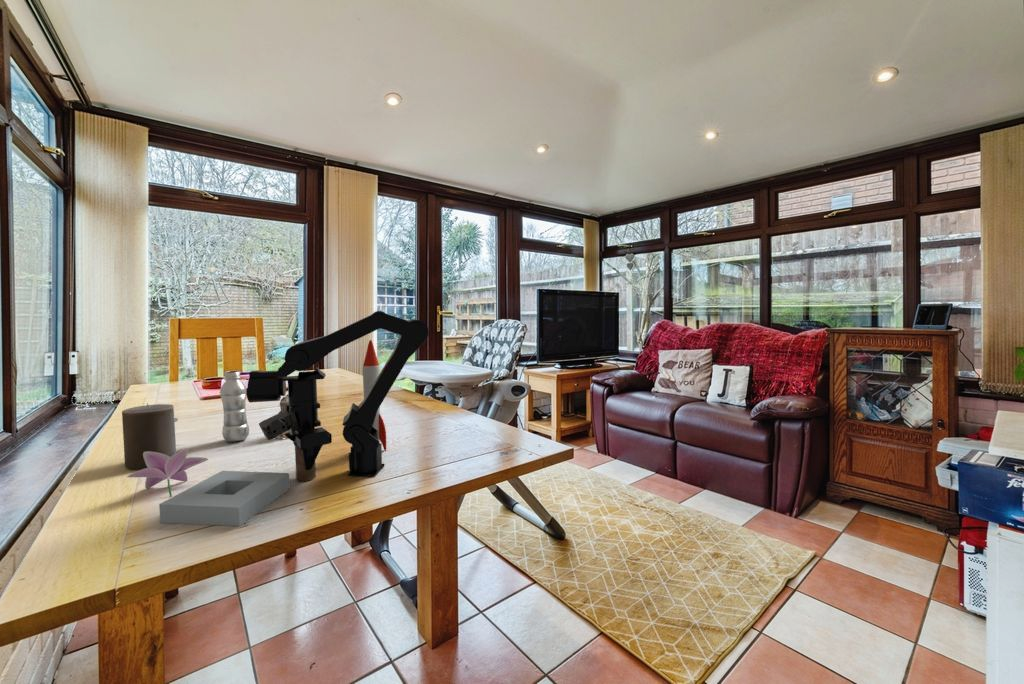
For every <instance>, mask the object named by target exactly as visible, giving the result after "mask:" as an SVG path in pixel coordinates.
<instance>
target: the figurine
mask: <svg viewBox="0 0 1024 684" xmlns="http://www.w3.org/2000/svg"><path fill="white" fill-rule="evenodd" d="M287 403H289V399H288V394H286V395H285V396H282V397H281V399H280V401H279V408H280V410H279V412H278V413H277V414H279V413H282V412H284V411H285V405H286V404H287ZM285 433H288V431H286V432H284V433H282V434H280V435H278V436H276V438H277V437H278V438H277V439H280V438H287V437H286V436H285V435H284V434H285Z"/></svg>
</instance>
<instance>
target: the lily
mask: <svg viewBox="0 0 1024 684" xmlns="http://www.w3.org/2000/svg"><path fill="white" fill-rule="evenodd" d="M188 452H189V451H188V449H187V448H184V449H183V450H180V451H178V452H176V454H174V455H172V456H171V457H169V456H167V455H165V454H162V453H158V452H151V451H146V452H144V453H143V457H144V460H145V463H146V465H147V467H148V468H145V469H138V470H137V471H134V472H132V473H130V474H128V475H127V476H126V478H146V479H145V483H144V484H145V485H144V488H145V489H147V490H148V489H150V488H153V487H154V486H156V485H157V484H160V483H161V482H163V481H165V480H166V481H167V488H168V493H169V497H170V498H172V497H173V495H172V489H171V484H170V483H171V482H170V481H171V480H174V481H178V482H179V481H180V482H187V481H188V475H187V472H186V470H189V469H190V468H193V467H194V466H197V465H199V464H202V463H205V462H207V461H208V460H209V459H208V458H206V457H197V456H196V457H194V456H191V457H190V456H189V457H187V456H188Z"/></svg>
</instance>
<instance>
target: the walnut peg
mask: <svg viewBox="0 0 1024 684" xmlns="http://www.w3.org/2000/svg"><path fill="white" fill-rule="evenodd" d="M295 443H296V439H295ZM294 455H295V457H294V458H295V459H294V460H295V478H296V479H295V480H296V481H297V480H298V482H308V480H309V481H312V480H313V479H315V478H316V477H317V472H316V471H317V469H316V467H317V466H316V461H315V462H314V464H313V467H312V469H311V470H306V469H305V465H304V460H303V456H302V452H301V449H300V448H298V447H296V446H294Z"/></svg>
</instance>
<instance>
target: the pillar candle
mask: <svg viewBox="0 0 1024 684" xmlns="http://www.w3.org/2000/svg"><path fill="white" fill-rule="evenodd" d="M121 418H122V419H121V422H122V434H123V435H122V436H123V439H122V440H123V451H124V452H123V454H124V455H123V457H124V467H125V468H126V469H127V468H128V469H127V470H132V469H134V470H142V469H145V468H148V467H147V465H146V463H145V460H144V457H143V453H144V452H146V451H151V452H158V453H162V454H165V455H167V456H169V457H171V456H172V455H174V454H176V453H177V445H176V441H177V440H176V425H175V407H174V405H173V404H169V403H168V404H167V403H166V404H164V403H163V404H162V403H161V404H148V402H146V405H138V406H133V407H130V408H126V409H123V410H121Z"/></svg>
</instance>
